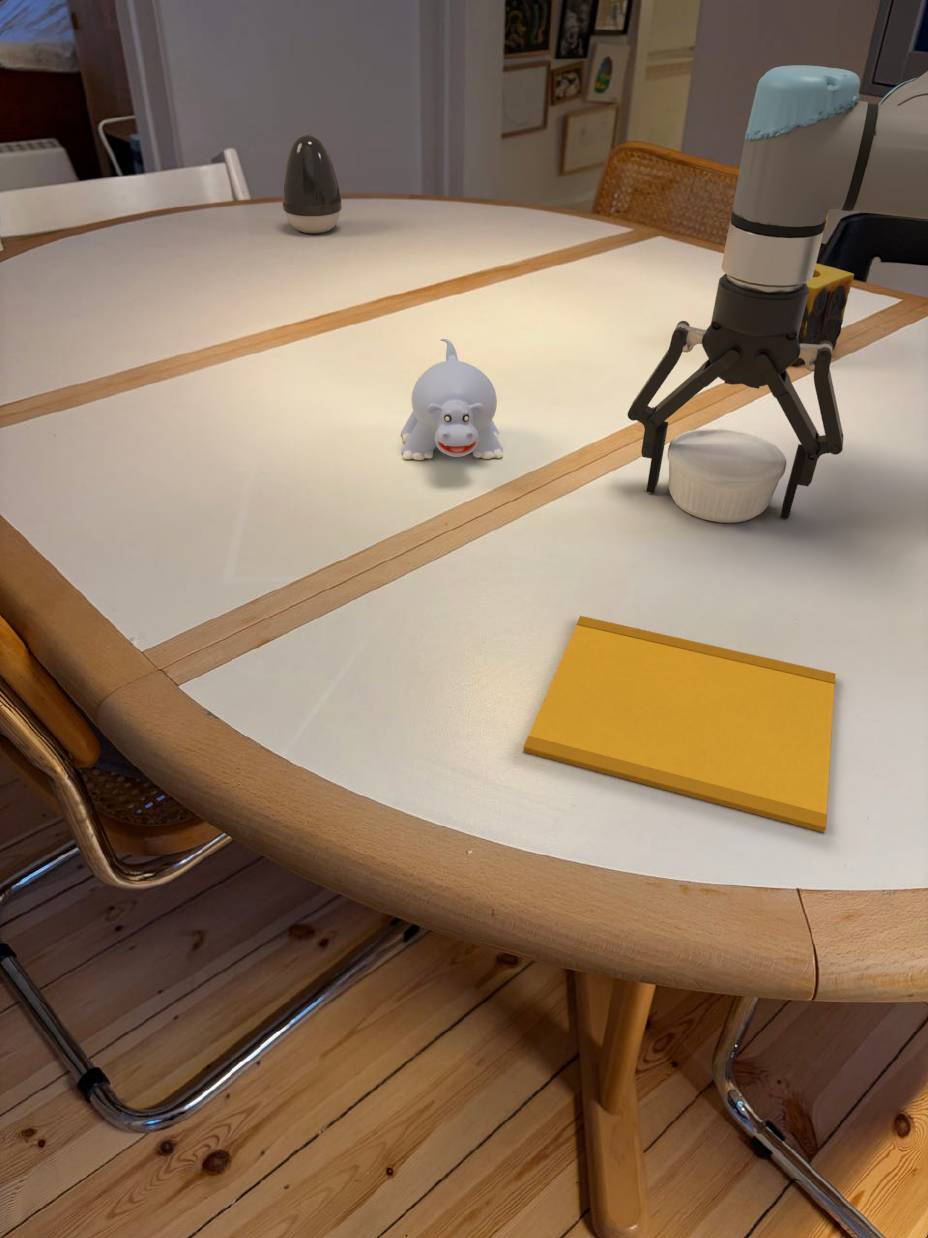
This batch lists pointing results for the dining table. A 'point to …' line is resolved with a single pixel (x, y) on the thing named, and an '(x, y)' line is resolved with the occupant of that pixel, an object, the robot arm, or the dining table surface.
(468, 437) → the hippopotamus toy
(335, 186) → the black egg shape
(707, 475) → the ramekin
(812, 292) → the candle
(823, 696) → the tray
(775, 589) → the dining table surface
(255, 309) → the dining table surface
